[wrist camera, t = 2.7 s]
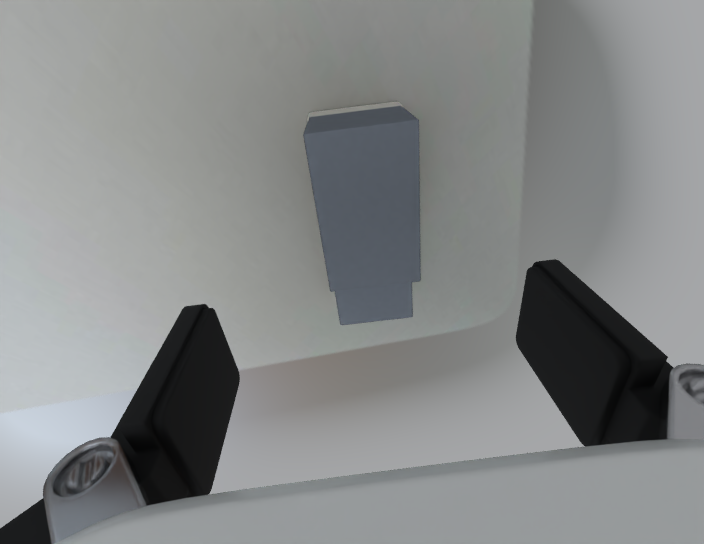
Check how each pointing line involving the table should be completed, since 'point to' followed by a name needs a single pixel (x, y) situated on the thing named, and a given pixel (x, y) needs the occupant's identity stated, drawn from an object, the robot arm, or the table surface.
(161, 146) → the table surface
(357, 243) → the grey stepped block
